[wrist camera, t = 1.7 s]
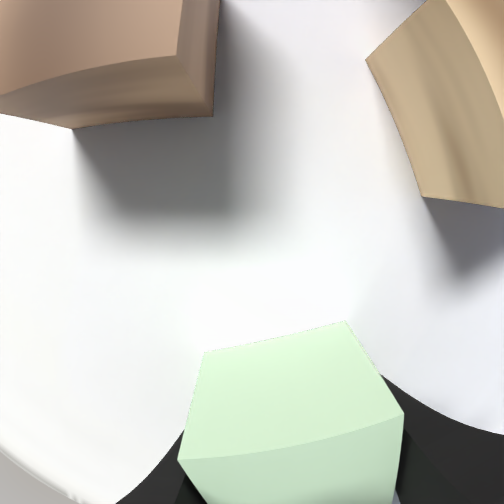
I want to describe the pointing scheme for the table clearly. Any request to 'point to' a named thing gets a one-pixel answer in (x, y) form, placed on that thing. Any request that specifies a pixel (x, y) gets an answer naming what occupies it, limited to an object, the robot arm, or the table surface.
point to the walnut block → (107, 60)
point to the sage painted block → (293, 423)
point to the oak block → (449, 97)
